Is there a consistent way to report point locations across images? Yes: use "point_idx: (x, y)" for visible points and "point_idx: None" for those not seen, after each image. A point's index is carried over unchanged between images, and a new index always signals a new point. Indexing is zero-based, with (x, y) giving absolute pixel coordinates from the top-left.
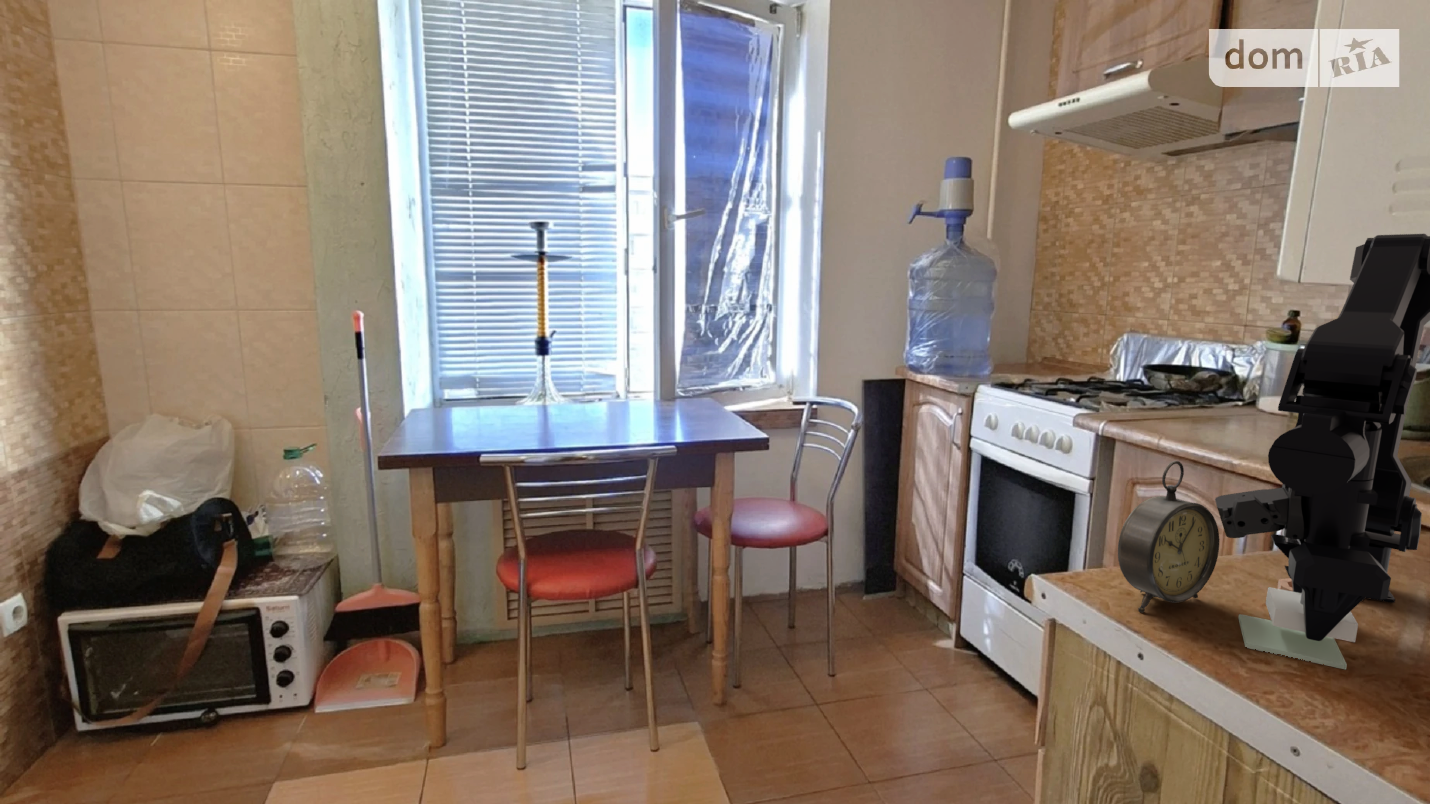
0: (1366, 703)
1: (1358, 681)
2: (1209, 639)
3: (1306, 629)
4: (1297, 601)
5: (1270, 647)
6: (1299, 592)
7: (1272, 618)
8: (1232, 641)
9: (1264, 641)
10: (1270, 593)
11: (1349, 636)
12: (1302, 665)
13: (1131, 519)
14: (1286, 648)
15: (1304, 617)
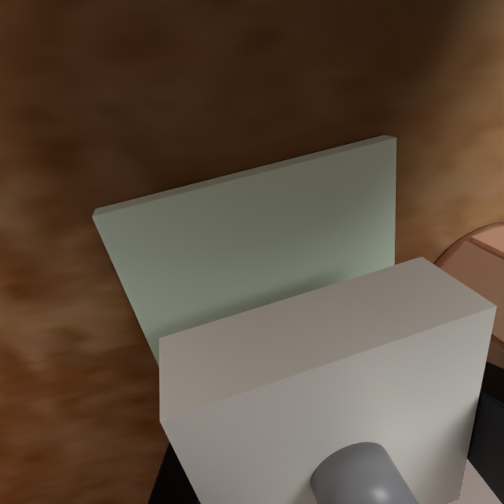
0: (5, 491)
1: (137, 450)
2: (40, 59)
3: (168, 449)
4: (357, 435)
5: (129, 290)
6: (479, 407)
7: (204, 338)
8: (119, 155)
9: (171, 264)
10: (399, 339)
11: None
12: (117, 359)
13: None
14: (173, 322)
15: (177, 494)
